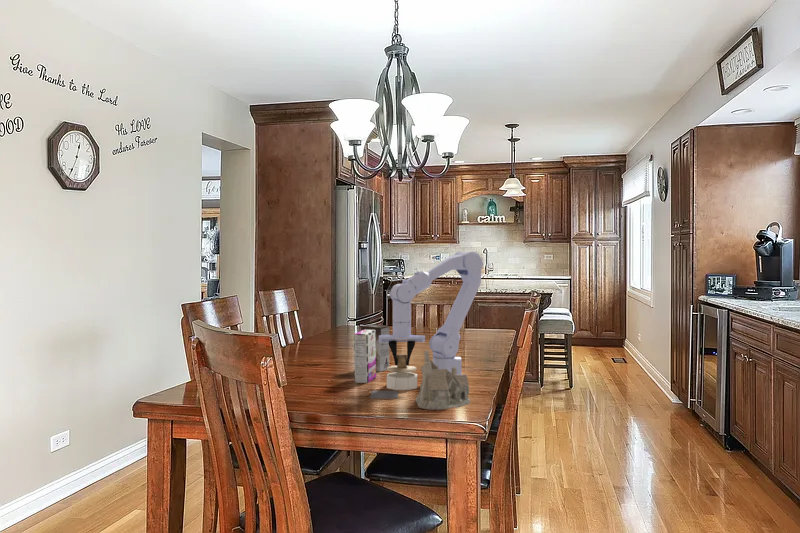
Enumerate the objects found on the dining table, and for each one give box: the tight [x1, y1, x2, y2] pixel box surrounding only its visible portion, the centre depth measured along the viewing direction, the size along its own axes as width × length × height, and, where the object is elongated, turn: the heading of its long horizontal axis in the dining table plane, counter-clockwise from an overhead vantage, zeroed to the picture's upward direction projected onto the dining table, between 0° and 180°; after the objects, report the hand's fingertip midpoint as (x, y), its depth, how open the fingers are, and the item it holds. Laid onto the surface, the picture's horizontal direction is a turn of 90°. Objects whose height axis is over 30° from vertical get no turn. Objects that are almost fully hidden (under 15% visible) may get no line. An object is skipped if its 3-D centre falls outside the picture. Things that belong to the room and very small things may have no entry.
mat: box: [369, 390, 399, 400], centre depth 178 cm, size 8×10×1 cm
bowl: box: [386, 372, 418, 391], centre depth 189 cm, size 10×10×4 cm
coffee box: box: [360, 323, 390, 373], centre depth 220 cm, size 9×6×16 cm
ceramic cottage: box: [415, 350, 471, 411], centre depth 169 cm, size 16×16×15 cm
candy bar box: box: [353, 330, 377, 384], centre depth 200 cm, size 11×5×16 cm, turn 168°
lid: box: [386, 353, 418, 373], centre depth 189 cm, size 9×9×5 cm
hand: (401, 364), depth 189 cm, fingers closed on lid, 3 cm apart
